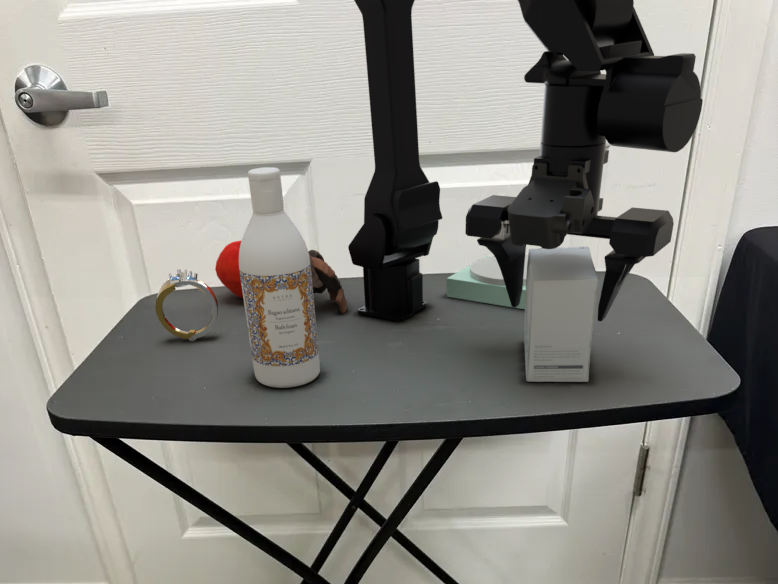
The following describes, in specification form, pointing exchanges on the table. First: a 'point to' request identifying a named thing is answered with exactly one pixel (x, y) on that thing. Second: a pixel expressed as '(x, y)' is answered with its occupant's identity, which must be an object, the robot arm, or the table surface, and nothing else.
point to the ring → (169, 287)
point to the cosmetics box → (559, 314)
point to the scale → (483, 283)
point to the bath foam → (277, 289)
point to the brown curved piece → (326, 280)
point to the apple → (230, 268)
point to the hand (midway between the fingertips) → (557, 312)
